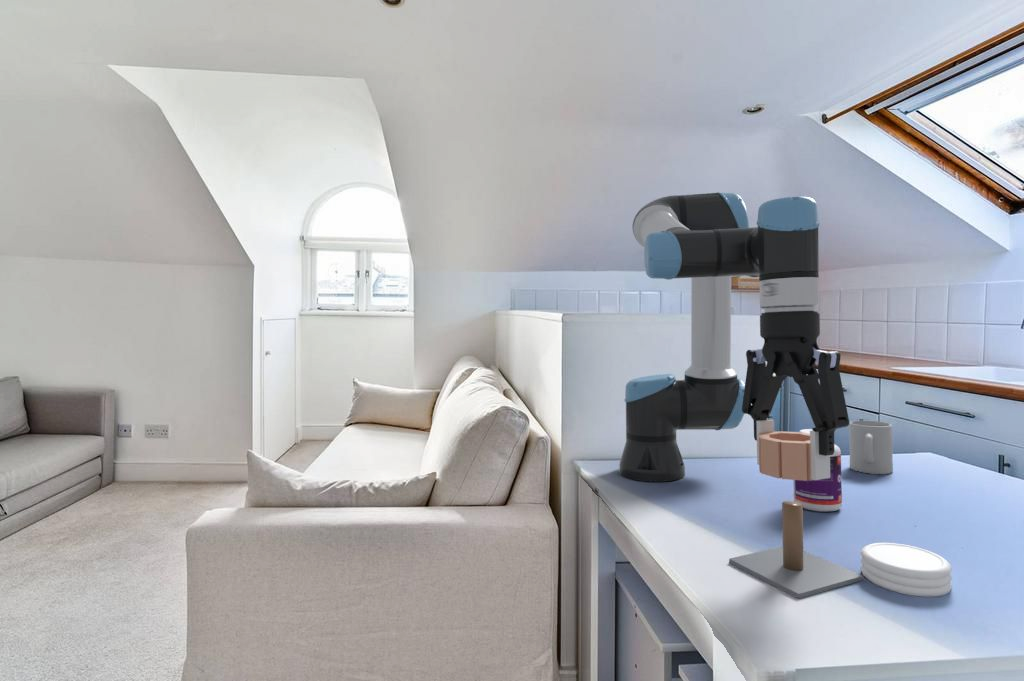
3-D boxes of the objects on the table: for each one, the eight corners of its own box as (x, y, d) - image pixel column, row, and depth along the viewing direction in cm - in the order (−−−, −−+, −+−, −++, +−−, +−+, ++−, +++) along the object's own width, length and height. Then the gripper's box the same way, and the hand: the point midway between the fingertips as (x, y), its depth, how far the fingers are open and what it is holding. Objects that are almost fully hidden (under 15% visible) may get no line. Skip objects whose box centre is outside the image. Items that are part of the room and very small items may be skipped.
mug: (851, 463, 136) (850, 419, 136) (893, 468, 131) (892, 422, 131) (846, 475, 126) (846, 427, 126) (892, 480, 121) (891, 430, 121)
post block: (729, 562, 82) (728, 498, 82) (789, 548, 86) (788, 487, 86) (798, 598, 71) (797, 524, 71) (863, 580, 75) (862, 510, 75)
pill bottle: (849, 514, 101) (848, 435, 100) (801, 513, 102) (799, 435, 102) (832, 500, 109) (831, 427, 108) (788, 499, 110) (787, 427, 110)
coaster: (971, 593, 71) (971, 566, 71) (907, 603, 69) (907, 575, 69) (901, 561, 81) (901, 538, 81) (844, 569, 79) (843, 545, 79)
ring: (746, 469, 80) (745, 434, 80) (788, 462, 84) (788, 429, 84) (795, 483, 73) (794, 445, 73) (840, 475, 76) (839, 439, 76)
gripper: (714, 313, 86) (717, 458, 87) (839, 306, 67) (843, 494, 67) (750, 312, 89) (753, 453, 89) (882, 306, 69) (884, 486, 70)
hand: (791, 470), depth 78 cm, fingers closed on ring, 8 cm apart
